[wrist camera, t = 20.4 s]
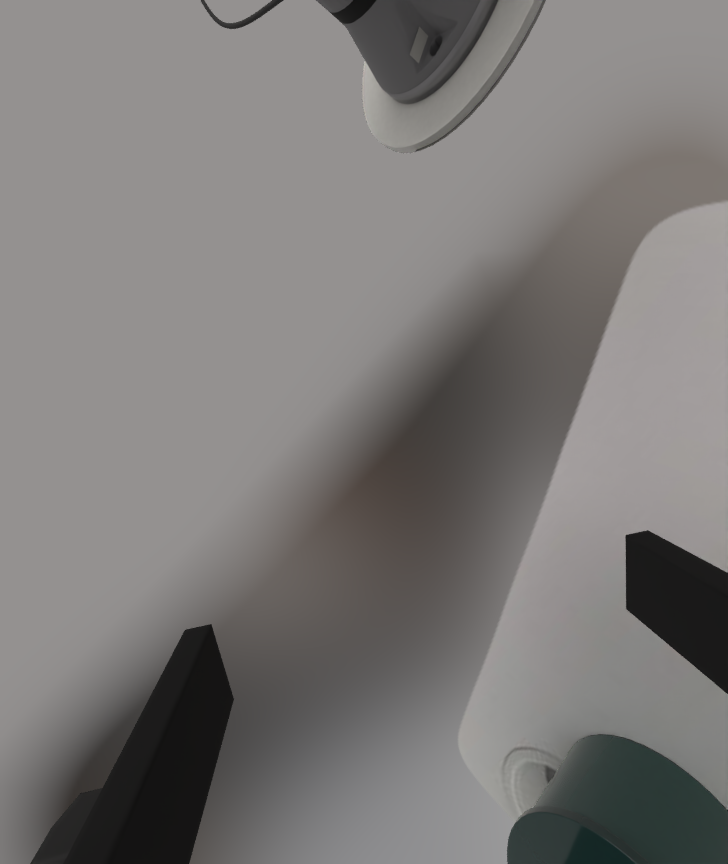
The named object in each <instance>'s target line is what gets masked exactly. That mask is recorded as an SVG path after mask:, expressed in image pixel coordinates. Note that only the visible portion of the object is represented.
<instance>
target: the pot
mask: <svg viewBox="0 0 728 864" xmlns="http://www.w3.org/2000/svg"><path fill="white" fill-rule="evenodd" d="M507 862H508V864H728V811H727V810H726V809H725V808H724V807H723V806H722V804H721V803H720V802H719V801H718V800H717V799H716V798H715V797H714V796H713V795H712V794H711V793H710V792H709V791H708V790H707V789H706V788H705V787H703V786H702V785H701V784H700V783H699V782H698V781H697V780H695V779H694V778H693V777H692V776H691V775H689V774H688V773H687V772H686V771H684V770H683V769H682V768H680V767H679V766H677V765H676V764H675V763H673V762H672V761H670V760H669V759H667V758H665V757H664V756H662V755H661V754H659V753H657V752H655V751H653V750H651V749H650V748H648V747H646V746H644V745H641V744H639V743H636V742H634V741H631V740H628V739H625V738H622V737H617V736H612V735H593V736H588V737H585V738H583V739H581V740H579V741H578V742H576V743H575V744H574V745H573V746H572V748H571V749H570V751H569V752H568V754H567V756H566V757H565V759H564V760H563V762H562V763H561V765H560V766H559V768H558V770H557V771H556V773H555V774H554V776H553V777H552V779H551V780H550V782H549V784H548V785H547V787H546V788H545V790H544V791H543V793H542V794H541V796H540V798H539V799H538V801H537V802H536V804H535V805H534V807H533V808H531V809H529V810H527V811H525V812H524V813H523V814H522V815H521V816H520V817H519V818H518V820H517V821H516V823H515V824H514V826H513V828H512V830H511V833H510V836H509V839H508V847H507Z"/></svg>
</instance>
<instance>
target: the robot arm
mask: <svg viewBox="0 0 728 864" xmlns="http://www.w3.org/2000/svg"><path fill="white" fill-rule="evenodd" d="M282 1H283V0H272V1H271V2H270V3H268V4H267V5H266V6H265V7H263V8H262V9H261V10H259V11H258V12H256V13H255V14H253V15H251V16H250V17H248V18H246V19H244V20H242V21H240V22H236V23H224V22H222V21H221V20H219V19H218V18H217V17H216V16H215V15H214V14H213V13H212V12H211V10H210V9H209V7H208V6H207V4H206V3H205V1H204V0H201V2H202V4H203V5H204V7H205V9H206V10H207V12H208V13H209V14H210V16H211V17H212V18H213V19H214V21H215V22H217V23H218V24H219V25H220V26H222V27H225V28H229V29H236V28H240V27H243V26H245V25H248V24H249V23H251V22H253V21H254V20H256V19H258V18H260V17H261V16H262V15H264V14H265V13H267V12H268V11H269V10H271V9H272V8H274V7H275V6H276V5H277V4H279V3H280V2H282ZM316 1H318V2H319V3H320V4H321V5H322V6H323V7H324V8H326V9H327V10H328V11H329V12H330V13H331V14H332V15H333V16H334V17H336V18H337V19H338V20H339V21H340V22H341V23H342V24H343V25H344V26H345V27H346V28H347V30H348V31H349V33H350V35H351V36H352V38H353V40H354V42H355V43H356V45H357V47H358V49H359V51H360V52H361V54H362V56H363V58H364V59H365V61H366V63H367V65H368V66H369V68H370V70H371V72H372V74H373V75H374V77H375V79H376V81H377V82H378V84H379V85H380V87H381V88H382V89H383V90H384V91H385V92H386V93H387V94H389V95H390V96H391V97H392V98H393V99H395V100H396V101H397V102H399V103H402V104H413V103H416V102H419V101H421V100H423V99H425V98H427V97H429V96H430V95H431V94H433V93H434V92H436V91H437V90H438V89H439V88H440V87H441V86H442V85H443V84H445V83H446V82H447V81H448V80H449V78H450V77H451V76H452V75H453V74H454V73H455V72H456V71H457V69H458V68H459V67H460V66H461V64H462V63H463V62H464V60H465V59H466V58H467V56H468V55H469V53H470V52H471V50H472V49H473V47H474V46H475V44H476V43H477V41H478V39H479V38H480V36H481V34H482V32H483V31H484V29H485V27H486V25H487V23H488V21H489V19H490V17H491V15H492V13H493V11H494V9H495V6H496V4H497V2H498V0H316ZM626 609H627V610H628V611H629V612H630V613H632V614H633V615H634V616H635V617H636V618H638V619H639V620H640V621H641V622H642V623H643V624H645V625H646V626H647V627H648V628H649V629H651V630H652V631H653V632H654V633H655V634H657V635H658V636H659V637H660V638H661V639H663V640H664V641H665V642H666V643H667V644H669V645H670V646H671V647H672V648H673V649H675V650H676V651H677V652H678V653H679V654H681V655H682V656H683V657H684V658H685V659H687V660H688V661H689V662H690V663H691V664H692V665H694V666H695V667H696V668H697V669H698V670H700V671H701V672H702V673H703V674H704V675H706V676H707V677H708V678H709V679H710V680H712V681H713V682H714V683H715V684H716V685H718V686H719V687H720V688H721V689H722V690H724V691H725V692H726V693H727V694H728V573H727V572H725V571H723V570H721V569H719V568H717V567H715V566H713V565H712V564H710V563H708V562H706V561H704V560H702V559H700V558H699V557H697V556H695V555H693V554H691V553H689V552H687V551H685V550H684V549H682V548H680V547H678V546H676V545H674V544H672V543H671V542H669V541H667V540H665V539H663V538H661V537H659V536H657V535H656V534H654V533H652V532H650V531H643V532H638V533H634V534H629V535H626ZM233 700H234V698H233V695H232V691H231V688H230V685H229V681H228V678H227V675H226V672H225V668H224V665H223V662H222V658H221V655H220V652H219V648H218V645H217V642H216V638H215V635H214V632H213V628H212V625H211V624H210V625H205V626H201V627H196V628H192V629H187V630H185V631H184V633H183V635H182V637H181V639H180V641H179V643H178V645H177V646H176V648H175V650H174V652H173V654H172V656H171V658H170V660H169V662H168V664H167V665H166V667H165V670H164V671H163V673H162V675H161V677H160V679H159V681H158V683H157V685H156V687H155V689H154V690H153V692H152V694H151V696H150V698H149V700H148V702H147V704H146V706H145V708H144V710H143V712H142V713H141V716H140V717H139V719H138V721H137V723H136V725H135V727H134V729H133V731H132V733H131V735H130V737H129V739H128V740H127V742H126V744H125V746H124V748H123V750H122V752H121V754H120V756H119V758H118V760H117V762H116V763H115V765H114V767H113V769H112V771H111V773H110V775H109V777H108V779H107V781H106V783H105V785H104V787H103V788H101V789H97V790H93V791H88V792H85V793H80V795H79V796H78V797H77V798H76V799H75V801H74V802H73V803H72V804H71V805H70V806H69V808H68V809H67V810H66V811H65V812H64V814H63V815H62V816H61V817H60V818H59V820H58V821H57V822H56V823H55V824H54V826H53V827H52V828H51V829H50V831H49V833H48V835H47V836H46V838H45V840H44V842H43V843H42V845H41V847H40V848H39V850H38V852H37V853H36V855H35V857H34V859H33V860H32V862H31V864H189V862H190V858H191V855H192V851H193V847H194V843H195V840H196V836H197V833H198V829H199V825H200V822H201V818H202V814H203V810H204V807H205V803H206V800H207V796H208V792H209V789H210V785H211V781H212V777H213V774H214V770H215V767H216V763H217V759H218V755H219V751H220V748H221V745H222V741H223V737H224V733H225V730H226V726H227V722H228V719H229V715H230V711H231V707H232V704H233Z"/></svg>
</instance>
